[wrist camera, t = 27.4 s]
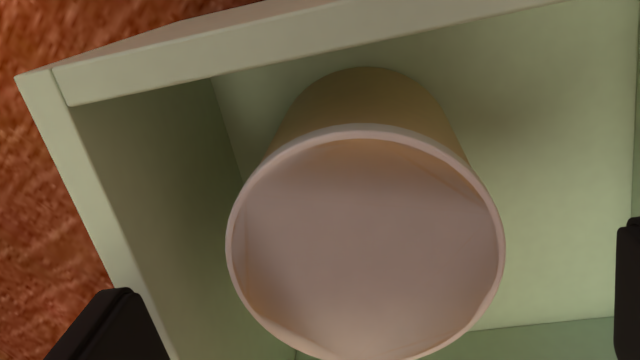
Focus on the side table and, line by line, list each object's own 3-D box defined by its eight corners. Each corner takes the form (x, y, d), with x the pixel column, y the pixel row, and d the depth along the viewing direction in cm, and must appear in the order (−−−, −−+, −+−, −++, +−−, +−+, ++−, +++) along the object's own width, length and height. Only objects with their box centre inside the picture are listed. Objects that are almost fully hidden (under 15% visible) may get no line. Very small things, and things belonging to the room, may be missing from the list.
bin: (658, -94, 14) (1025, -159, 6) (636, 314, 20) (807, 541, 12) (178, 21, 17) (11, 76, 9) (286, 350, 23) (244, 556, 15)
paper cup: (444, 44, 16) (495, 103, 9) (464, 217, 18) (515, 354, 12) (254, 84, 17) (186, 159, 11) (298, 241, 19) (265, 377, 13)
